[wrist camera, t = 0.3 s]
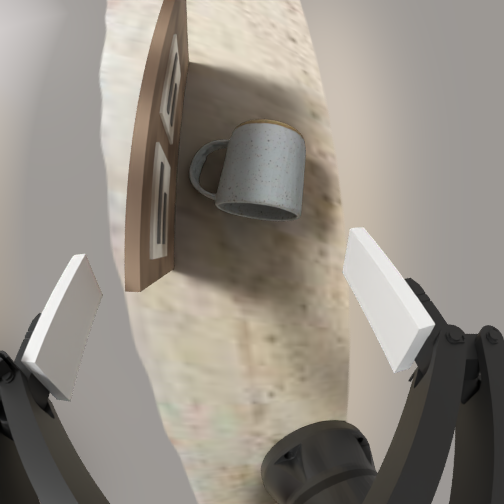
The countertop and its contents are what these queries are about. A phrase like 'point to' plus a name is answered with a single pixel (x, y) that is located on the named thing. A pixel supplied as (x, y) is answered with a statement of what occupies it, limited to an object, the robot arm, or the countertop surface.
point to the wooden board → (156, 152)
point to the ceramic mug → (258, 171)
